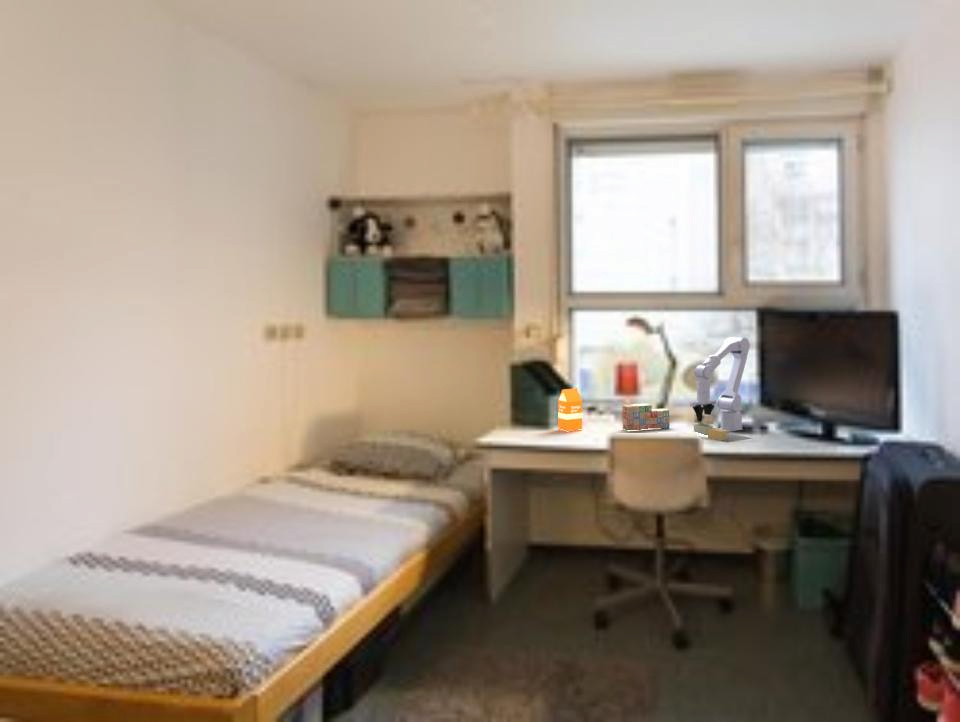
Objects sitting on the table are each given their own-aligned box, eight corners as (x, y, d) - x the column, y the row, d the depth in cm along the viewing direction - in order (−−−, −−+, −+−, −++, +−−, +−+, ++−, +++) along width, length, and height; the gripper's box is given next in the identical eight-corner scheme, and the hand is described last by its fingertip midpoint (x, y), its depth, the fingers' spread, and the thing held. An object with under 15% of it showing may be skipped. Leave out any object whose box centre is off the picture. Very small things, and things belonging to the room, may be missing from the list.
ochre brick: (707, 437, 398) (707, 428, 397) (714, 436, 400) (714, 427, 399) (720, 440, 391) (720, 431, 390) (727, 439, 393) (727, 430, 392)
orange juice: (558, 429, 428) (557, 388, 426) (573, 427, 432) (572, 387, 430) (567, 432, 421) (566, 390, 419) (582, 430, 425) (582, 389, 423)
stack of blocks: (664, 427, 429) (664, 402, 427) (669, 429, 423) (669, 403, 421) (622, 429, 424) (622, 404, 423) (627, 432, 418) (627, 406, 417)
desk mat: (710, 430, 417) (710, 429, 417) (753, 439, 394) (753, 438, 394) (684, 434, 409) (684, 433, 409) (727, 443, 386) (727, 442, 386)
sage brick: (693, 432, 409) (693, 424, 409) (700, 431, 411) (700, 423, 411) (706, 435, 403) (706, 426, 402) (712, 434, 405) (712, 425, 404)
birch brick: (694, 422, 409) (694, 413, 408) (700, 421, 411) (700, 413, 410) (706, 424, 402) (706, 416, 401) (713, 424, 404) (713, 415, 403)
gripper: (697, 393, 398) (697, 423, 399) (721, 391, 405) (721, 420, 406) (686, 392, 404) (686, 421, 405) (710, 389, 411) (710, 418, 413)
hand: (703, 420), depth 406 cm, fingers closed on birch brick, 4 cm apart
